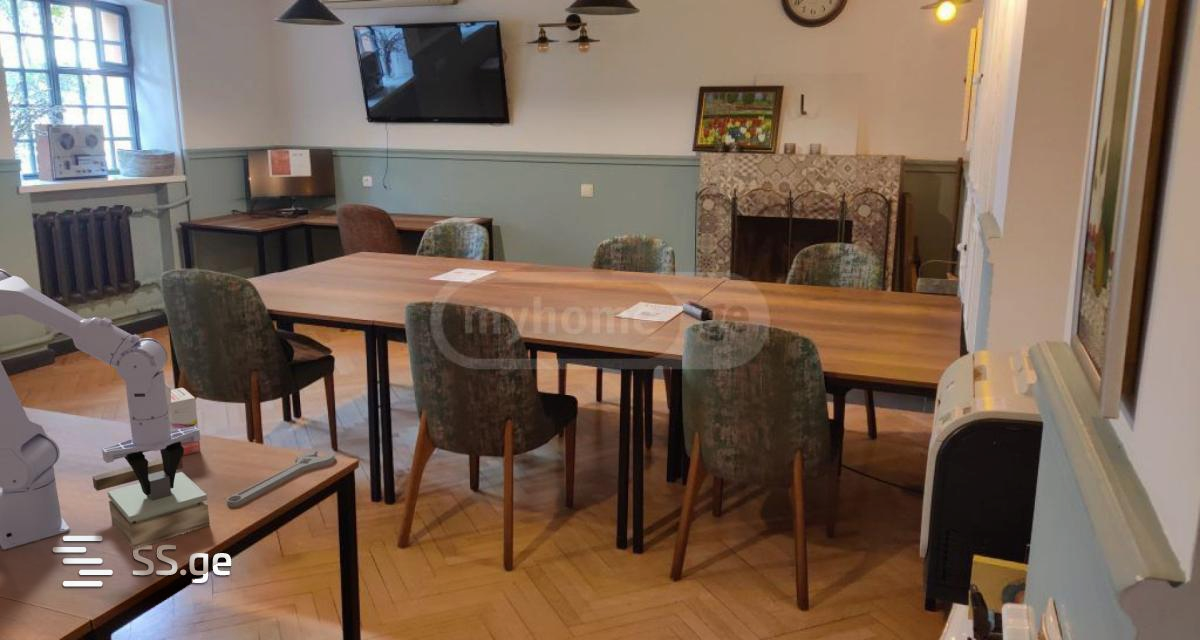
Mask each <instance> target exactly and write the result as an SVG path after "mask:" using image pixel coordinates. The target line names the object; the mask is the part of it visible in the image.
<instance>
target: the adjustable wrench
mask: <svg viewBox="0 0 1200 640" xmlns="http://www.w3.org/2000/svg"><path fill="white" fill-rule="evenodd" d="M308 452H309V453H307V452H304V453H302V454H301V455H297V456H296V458H295V460H294V461H295V463H294V464H292V465H291V466H289V467H286V468H285V469H282V470H281V471H279V472H277V473H274V474H273V475H271V476H268V477H267V478H264V479H262V480H261V481H259V482H256V483H254V484H252V485H251V486H249V487H246V488H244V489H242V490H241V491H239V492H237V493H234V494H233V495H230V496H228V497H227V499H226V504H227V507H229V508H235V507H240V506H242V505H243V504H245V503H247V502H249V501H251V500H254V498H257V497H259V496H261V495H263V494H264V493H266V492H268V491H270V490H272V489H274V488H275V486H276V487H277V485H278V484H279V485H281V484H283V483H285V482H287V481H289V480H290V478H291V479H292V477H293V478H294V477H296V476H298V475H300V474H302V473H305V472H308V471H310V470H309V469H311V470H314V468H315V469H318V468H317V467H319V468H323V467H326V466H329V465H332V464H333V463H334V462H335V460H336V459H335V457H336V456H335V451H333V450H330V451H329V452H328V453H327V454H326V455H321V456H319V454H318V450H317V449H316V450H315V449H313V450H310V451H308ZM313 453H314V454H313ZM317 454H318V455H317ZM322 466H323V467H322ZM307 470H308V471H307ZM304 471H305V472H304ZM299 473H300V474H299ZM297 474H298V475H297ZM288 479H289V480H288ZM286 480H287V481H286ZM284 481H285V482H284ZM282 482H283V483H282ZM280 483H281V484H280ZM279 485H278V486H279ZM273 487H274V488H273Z"/></svg>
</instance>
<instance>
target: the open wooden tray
mask: <svg viewBox="0 0 1200 640" xmlns="http://www.w3.org/2000/svg"><path fill="white" fill-rule="evenodd" d="M108 504H109V512H110V518H111V523H112V525H113V524H114V525H115V526H116V527H115V526H114V525H113V526H114V527H115V529H118V530H119V531H118V530H117V531H118V532H119V533H120V534H121V536H122V537H123V538H124V540H126V542H127V543H128V544H129V546H130V547H131V548H132V550H137V549H140V548H143V547H146V545H147V546H149V545H152V544H155V542H156V543H159V542H162V541H161V540H163V541H165V539H166V540H169V539H172V538H175V537H178V536H180V535H179V534H182V533H185V534H187V533H186V532H188V533H190V532H189V531H191V532H193V531H192V530H194V531H197V530H196V529H198V530H200V529H199V528H201V529H203V528H202V527H204V528H206V526H207V527H209V526H208V525H210V526H211V524H210V522H211V521H210V516H209V514H210V513H209V505H208V503H207V502H206V501H202V502H199V503H198V505H196V506H193V507H190V508H186V509H183V510H179V511H176V512H173V513H169V514H166V515H162V516H159V517H155V518H152V519H149V520H145V521H142V522H138V523H136V522H135V521H133V522H129V521H128V519H127V518H126V517H125V516H124V515H123V514H122V512H121V511H120V510H119V509H118V508H117V507H116V505H115V504H114V503H113V502H112V501H111V500H109V501H108ZM177 535H178V536H177ZM182 535H183V534H182ZM174 536H175V537H174ZM171 537H172V538H171ZM168 538H169V539H168ZM158 541H159V542H158ZM139 547H140V548H139ZM136 548H137V549H136Z"/></svg>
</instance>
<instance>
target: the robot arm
mask: <svg viewBox="0 0 1200 640" xmlns="http://www.w3.org/2000/svg"><path fill="white" fill-rule="evenodd" d="M16 315H20V316H23V317H26V318H28V319H30V320H32V321H35V322H37V323H39V324H41V325H43V326H45V327H48V328H51V329H53V330H55V331H57V332H60V333H62V334H64V335H66V336H68V337H70V338H71V339H72V341H73V345H74V346H75V348H76V349H77V350H79V351H81V352H84V353H85V354H87V355H89V356H91V357H93V358H96V359H97V360H99V361H101V362H103V363H106V364H107V365H109V366H111V367H113V368H115V371H116V373H117V374H118V376H119V377H120V378H121V379H122V380H123V381H124V382H125V390H126V391H125V392H126V399H127V408H128V416H129V423H130V424H129V425H130V431H131V433H130V434H131V438H130V439H126V440H124V441H121V442H119V443H118V442H117V443H116V444H112V445H110V446H107V447H106V446H105V447H103V448H101V451H102V460H103V461H104V462H105V463H107V464H108V463H112V462H114V460H119V459H123V458H124V459H125V460H126V462H127V463H128V465H129V467H132V469H133V470H134V472H135V474H136V476H137V478H138V480H137V481H138V483H140V485H141V488H142V492H143V493H144V494H145V495H149V494H150V484H149V478H148V462H149V460H148V459H147V458H146V455H145V454H144V453H148V452H150V451H151V452H152V451H153V452H157V451H160V455H161V459H162V461H163V468H164V472H165V473H166V474H167V475H168V476H169V479H170V487H171V488H174V479H175V474H176V473H177V471H178V470H177V467H178V464H179V462H180V460H181V458H182V457H183V456H184V455H183V454H184V448H183V447H182V446H181V443H184V442H189V441H201V432H200V429H199V427H198V428H196V427H191V428H185V429H177V430H170V422H169V413H168V404H167V395H166V386H165V383H166V381H165V380H166V379H165V371H164V368H165V366H166V364H167V362H168V359H169V355H168V351H167V349H166V348H165V346H164V345H163V344H162V343H161V342H159V341H158V340H157V339H155V338H151V337H144V338H141V336H139V335H138V334H136V333H134V334H131V333H130V332H127V331H125V330H124V329H122V328H120V327H117V326H116V325H114V324H112V323H113V320H111V319H109V318H107V317H104V318H100V317H97V316H96V317H95V316H94V317H90V318H84V317H82V316H80V315H79V314H77V313H75V312H74V311H73V310H71V309H68V308H67V307H65V306H64V305H62V304H60V303H59V302H58V301H55V300H53V299H52V298H50V297H48V296H47V295H45V294H43V293H41V292H40V291H38V290H36V289H35V288H33V287H31V286H30V285H29V284H28V283H27V281H25V280H24V279H23V278H22V277H20V276H16V275H13V274H11V273H10V272H9V271H8V270H5V269H2V268H0V317H6V316H7V317H8V316H16ZM60 452H61V451H60V448H59V445H58V444H57V442H56V441H55V440H54V439H53V438H51V437H50V436H49V435H48V434H47V433H46V432H45V430H44V427H43V426H42V425H41V424H38V423H36V422H33V421H31V420H30V418H29V417H28V415H27V413H26V411H25V409H24V407H23V405H22V402H21V401H20V398H19V397H18V394H17V392H16V390H15V388H14V386H13V385H12V382H11V380H10V378H9V376H8V373H7V371H6V370H5V368H4V365H3V364H2V361H1V360H0V546H1V549H2V550H8V549H11V548H15V547H18V546H22V545H26V544H29V543H32V542H36V541H39V540H43V539H46V538H50V537H54V536H57V535H60V534H64V533H67V532H69V531H70V527H69V525H68V523H67V522H66V520H65V519H64V518H63V517H62V514H61V507H60V502H59V495H58V487H57V482H56V476H55V475H56V474H55V468H54V465H55V464H56V463H57V462H58V460H59V458H60V454H61V453H60ZM182 459H183V458H182Z"/></svg>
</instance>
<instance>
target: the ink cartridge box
mask: <svg viewBox="0 0 1200 640" xmlns="http://www.w3.org/2000/svg"><path fill="white" fill-rule="evenodd" d="M165 386H166V395H167V404H168V413H169V422H170V430H177V429H185V428H191V427H196V428H198V429H199V425H198V415H197V413H198V412H197V406H196V405H197V403H196V397H195V396H193V395H192V394H191V393H190V392H189V391H188V390H187V389H185V388H184V387H178V388H174V389H172V388H171V386H169V385H168V383H166V382H165ZM200 441H201V440H199V441H189V442H184V443H181V446H182V447H183V448H184V454H183V456H186V455H190V454H195V453H200V452H201V442H200Z"/></svg>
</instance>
